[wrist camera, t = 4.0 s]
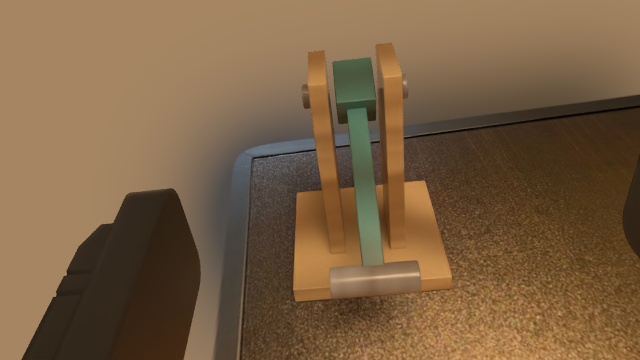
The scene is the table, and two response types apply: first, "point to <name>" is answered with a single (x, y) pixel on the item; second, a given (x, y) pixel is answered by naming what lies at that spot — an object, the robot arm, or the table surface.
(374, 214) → the cylinder
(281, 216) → the table surface
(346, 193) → the rod stand
